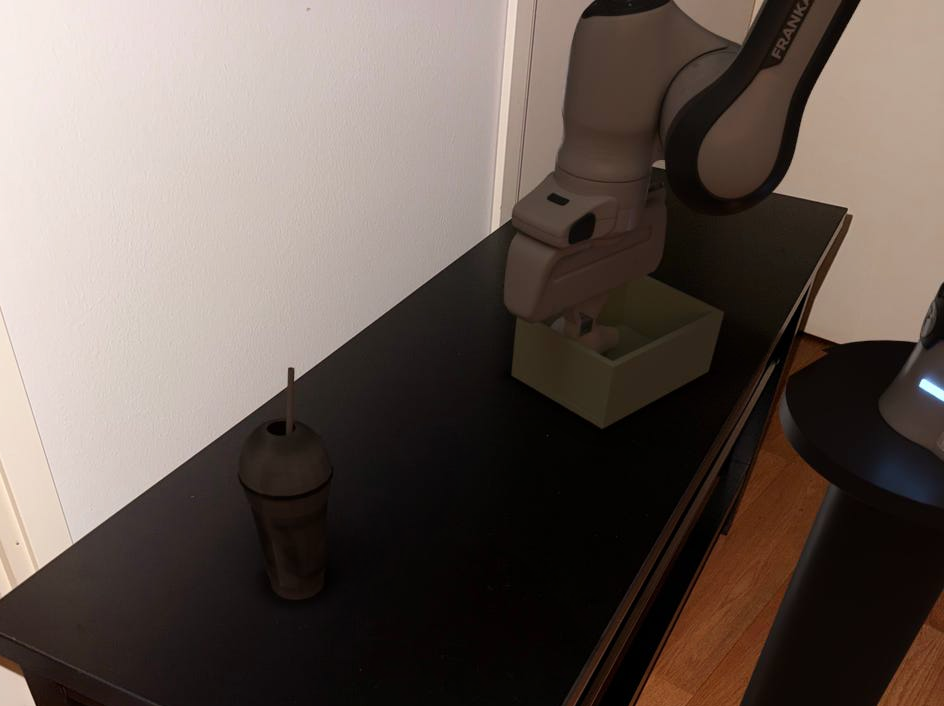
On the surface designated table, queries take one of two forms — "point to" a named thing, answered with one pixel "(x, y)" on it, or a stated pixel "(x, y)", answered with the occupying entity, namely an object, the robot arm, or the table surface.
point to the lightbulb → (593, 336)
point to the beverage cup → (289, 500)
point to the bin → (621, 352)
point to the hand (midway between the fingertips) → (578, 333)
